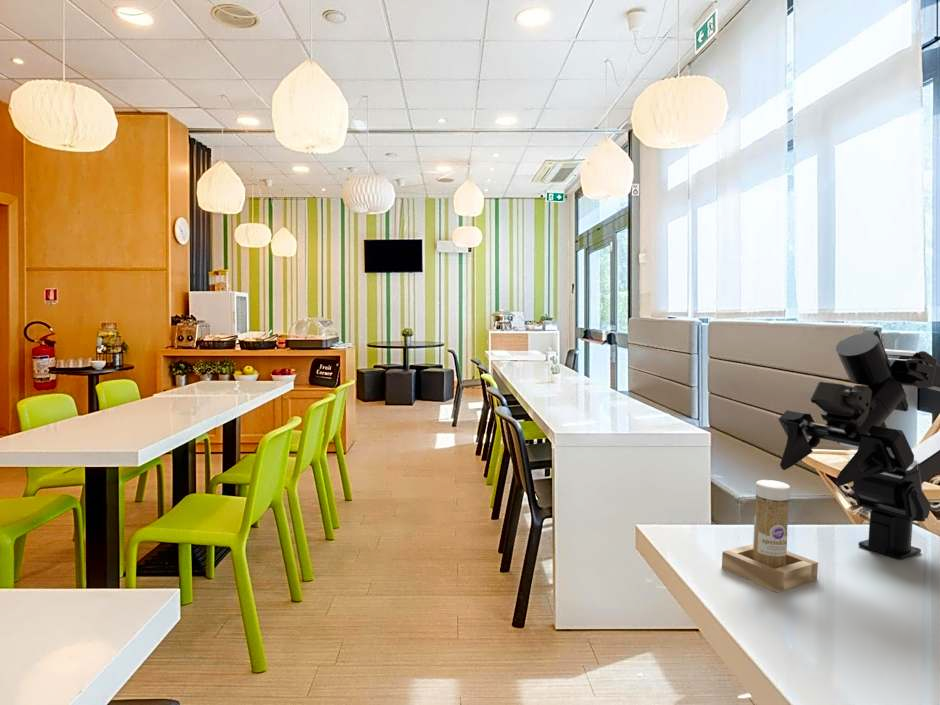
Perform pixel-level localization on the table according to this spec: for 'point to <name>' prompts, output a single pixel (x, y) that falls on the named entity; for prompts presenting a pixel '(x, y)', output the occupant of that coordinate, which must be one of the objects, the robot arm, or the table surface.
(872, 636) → the table surface
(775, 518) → the sprinkles bottle
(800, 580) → the block
